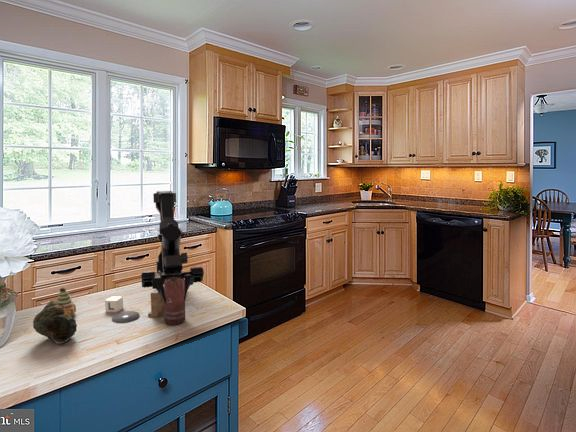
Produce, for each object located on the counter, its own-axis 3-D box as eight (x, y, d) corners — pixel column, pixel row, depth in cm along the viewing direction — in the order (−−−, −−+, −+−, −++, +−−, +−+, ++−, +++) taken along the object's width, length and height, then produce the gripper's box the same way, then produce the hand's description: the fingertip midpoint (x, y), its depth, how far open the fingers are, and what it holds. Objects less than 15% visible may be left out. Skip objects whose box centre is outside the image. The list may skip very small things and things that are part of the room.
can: (180, 326, 112) (179, 281, 110) (161, 324, 113) (160, 280, 111) (189, 318, 117) (189, 276, 116) (171, 316, 119) (170, 274, 117)
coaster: (120, 312, 122) (120, 310, 122) (143, 312, 122) (143, 311, 122) (106, 322, 114) (106, 320, 114) (131, 322, 114) (131, 321, 114)
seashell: (28, 353, 95) (25, 316, 93) (38, 335, 105) (35, 301, 104) (76, 346, 99) (73, 310, 98) (80, 329, 109) (78, 296, 108)
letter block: (111, 307, 127) (111, 296, 126) (123, 307, 126) (122, 296, 126) (105, 312, 123) (104, 300, 122) (117, 312, 122) (116, 300, 122)
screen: (159, 306, 128) (158, 284, 127) (171, 306, 127) (171, 284, 126) (147, 316, 119) (146, 292, 118) (161, 317, 118) (160, 293, 117)
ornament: (45, 323, 113) (42, 292, 112) (48, 316, 118) (46, 286, 117) (75, 319, 116) (73, 288, 115) (76, 312, 122) (74, 283, 121)
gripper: (140, 246, 112) (141, 292, 104) (202, 242, 119) (208, 285, 110) (141, 265, 121) (142, 309, 112) (199, 260, 127) (205, 302, 119)
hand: (175, 301), depth 113 cm, fingers closed on can, 5 cm apart
